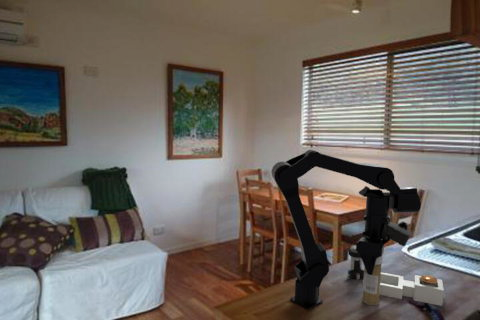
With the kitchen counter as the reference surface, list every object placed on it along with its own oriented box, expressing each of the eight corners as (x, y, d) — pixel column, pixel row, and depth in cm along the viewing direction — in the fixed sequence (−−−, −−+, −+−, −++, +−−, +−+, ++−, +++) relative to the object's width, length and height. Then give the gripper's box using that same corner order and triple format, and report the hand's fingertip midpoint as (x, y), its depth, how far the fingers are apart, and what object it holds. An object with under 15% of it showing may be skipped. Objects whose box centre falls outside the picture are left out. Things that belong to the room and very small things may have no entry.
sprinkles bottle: (382, 302, 102) (385, 255, 100) (374, 307, 99) (377, 259, 97) (366, 295, 105) (369, 250, 103) (358, 301, 102) (361, 254, 100)
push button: (350, 283, 112) (351, 251, 111) (339, 276, 117) (341, 245, 116) (367, 280, 115) (369, 249, 113) (356, 273, 120) (358, 243, 118)
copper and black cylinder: (419, 298, 104) (421, 279, 103) (419, 292, 107) (421, 274, 106) (435, 301, 102) (437, 282, 101) (435, 295, 106) (436, 276, 105)
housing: (368, 292, 107) (369, 277, 106) (371, 279, 115) (372, 266, 114) (442, 307, 99) (444, 291, 99) (440, 293, 107) (441, 278, 107)
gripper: (406, 226, 87) (401, 289, 89) (413, 208, 103) (409, 262, 105) (357, 219, 92) (353, 278, 94) (371, 203, 108) (368, 254, 110)
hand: (373, 268), depth 101 cm, fingers open, 9 cm apart
